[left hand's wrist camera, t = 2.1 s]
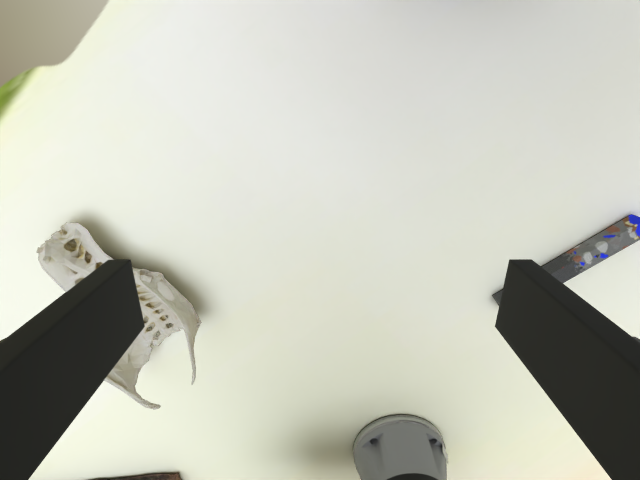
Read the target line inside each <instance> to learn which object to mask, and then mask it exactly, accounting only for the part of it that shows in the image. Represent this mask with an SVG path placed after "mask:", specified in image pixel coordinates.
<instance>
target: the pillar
mask: <svg viewBox="0 0 640 480" xmlns="http://www.w3.org/2000/svg"><path fill="white" fill-rule="evenodd" d="M638 240H640V217H638V216H635V215H632V214H631V215H629V216H628V217H626V218H624V219H622V220H621V221H619V222H617V223H616V224H614V225H612V226H610V227H609V228H607V229H605V230H604V231H602V232H600V233H599V234H597V235H595V236H593V237H592V238H590V239H588V240H587V241H585V242H583V243H581V244H580V245H578V246H576V247H575V248H573V249H571V250H569V251H568V252H566V253H564V254H563V255H561V256H559V257H557V258H556V259H554V260H552V261H551V262H549V263H547V264H545V265H544V266H542V268H543V269H544V270H546V271H547V272H548V273H550V274H551V275H552V276H554V277H555V278H556V279H557V280H559V281H560V282H561V283H564V282H566V281H568V280H569V279H571V278H573V277H575V276H576V275H578V274H580V273H582V272H583V271H585V270H587V269H589V268H591V267H592V266H594V265H596V264H598V263H599V262H601V261H603V260H605V259H606V258H608V257H610V256H612V255H614V254H615V253H617V252H619V251H621V250H622V249H624V248H626V247H628V246H630V245H631V244H633V243H635V242H637V241H638ZM502 292H503V290H501V291H499V292H497V293H496V294H494V295H492V296H493V298H494V299H495V300H496V302H497V303H498V305H499V306H500V301H501V297H502Z"/></svg>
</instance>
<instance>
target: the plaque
mask: <svg viewBox="0 0 640 480" xmlns="http://www.w3.org/2000/svg"><path fill="white" fill-rule="evenodd" d="M97 480H105V479H97ZM112 480H181V479H180V477H179V473H177V474H152V475H143V476H136V477H129V478H120V479H112Z"/></svg>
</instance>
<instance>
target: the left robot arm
mask: <svg viewBox="0 0 640 480" xmlns="http://www.w3.org/2000/svg"><path fill="white" fill-rule="evenodd" d="M144 327H145V324H144V320H143V315H142V310H141V306H140V301H139V297H138V292H137V287H136V283H135V278H134V273H133V269H132V264H131V260H107V261H106V262H105V263H103V264H102V265H101V266H99V267H98V268H97V269H96V270H94V271H93V272H92V273H90V274H89V275H88V276H86V277H85V278H84V279H83V280H81V281H80V282H79V283H77V284H76V285H75V286H73V287H72V288H71V289H70V290H68V291H67V292H66V293H64V294H63V295H62V296H60V297H59V298H58V299H57V300H55V301H54V302H53V303H51V304H50V305H49V306H47V307H46V308H45V309H44V310H42V311H41V312H40V313H38V314H37V315H36V316H34V317H33V318H32V319H31V320H29V321H28V322H27V323H25V324H24V325H23V326H22V327H20V328H19V329H18V330H16V331H15V332H14V333H12V334H11V335H10V336H9V337H7V338H5V339H3V340H1V341H0V480H28V479H29V478H30V477H31V475H32V474H33V473H34V471H35V470H36V469H37V467H38V466H39V465H40V463H41V462H42V461H43V459H44V458H45V457H46V456H47V454H48V453H49V452H50V450H51V449H52V448H53V446H54V445H55V444H56V442H57V441H58V440H59V438H60V437H61V436H62V435H63V433H64V432H65V431H66V429H67V428H68V427H69V425H70V424H71V423H72V421H73V420H74V419H75V418H76V416H77V415H78V414H79V412H80V411H81V410H82V408H83V407H84V406H85V404H86V403H87V402H88V400H89V399H90V398H91V397H92V395H93V394H94V393H95V391H96V390H97V389H98V387H99V386H100V385H101V383H102V382H103V381H104V379H105V378H106V377H107V376H108V374H109V373H110V372H111V370H112V369H113V368H114V366H115V365H116V364H117V362H118V361H119V360H120V358H121V357H122V356H123V355H124V353H125V352H126V351H127V349H128V348H129V347H130V345H131V344H132V343H133V341H134V340H135V339H136V337H137V336H138V335H139V334H140V332H141V331H142V330H143V328H144ZM495 327H496V328H497V330H498V331H499V332H500V334H501V335H502V336H503V337H504V339H505V340H506V341H507V343H508V344H509V345H510V347H511V348H512V349H513V351H514V352H515V353H516V355H517V356H518V357H519V358H520V360H521V361H522V362H523V364H524V365H525V366H526V368H527V369H528V370H529V372H530V373H531V374H532V376H533V377H534V378H535V379H536V381H537V382H538V383H539V385H540V386H541V387H542V389H543V390H544V391H545V393H546V394H547V395H548V397H549V398H550V399H551V400H552V402H553V403H554V404H555V406H556V407H557V408H558V410H559V411H560V412H561V414H562V415H563V416H564V418H565V419H566V420H567V421H568V423H569V424H570V425H571V427H572V428H573V429H574V431H575V432H576V433H577V435H578V436H579V437H580V438H581V440H582V441H583V442H584V444H585V445H586V446H587V448H588V449H589V450H590V452H591V453H592V454H593V456H594V457H595V458H596V459H597V461H598V462H599V463H600V465H601V466H602V467H603V469H604V470H605V471H606V473H607V474H608V475H609V477H610V478H611V479H612V480H640V339H638V338H636V337H631V336H630V335H629V334H628V333H626V332H625V331H624V330H622V329H621V328H620V327H618V326H617V325H616V324H615V323H613V322H612V321H611V320H609V319H608V318H607V317H606V316H604V315H603V314H602V313H600V312H599V311H598V310H596V309H595V308H594V307H593V306H591V305H590V304H589V303H587V302H586V301H585V300H583V299H582V298H581V297H580V296H578V295H577V294H576V293H574V292H573V291H572V290H570V289H569V288H568V287H567V286H565V285H564V284H563V283H561V282H560V281H559V280H557V279H556V278H555V277H554V276H552V275H551V274H550V273H548V272H547V271H546V270H544V269H543V268H542V267H541V266H539V265H538V264H537V263H535V262H534V261H533V260H509V264H508V269H507V273H506V278H505V283H504V287H503V292H502V297H501V301H500V306H499V310H498V315H497V320H496V324H495ZM353 453H354V462H355V465H356V469H357V471H358V473H359V476H360V478H361V480H447V477H446V461H447V463H448V454H447V452H446V449H445V445H444V442H443V439H442V436H441V434H440V432H439V431H438V429H437V428H436V427H435V426H434V425H433V424H431V423H430V422H428V421H426V420H424V419H422V418H419V417H416V416H411V415H393V416H387V417H384V418H381V419H378V420H376V421H374V422H372V423H370V424H369V425H367V426H366V427H365V428H364V429H363V430H362V431H361V432H360V433H359V434H358V436H357V437H356V439H355V442H354V447H353Z"/></svg>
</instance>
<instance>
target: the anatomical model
mask: <svg viewBox="0 0 640 480" xmlns="http://www.w3.org/2000/svg"><path fill="white" fill-rule="evenodd" d="M61 229H62V230H60V231H58V232H56V233H54V234H52V235H51V236H52V238H51V239H50V240H48V241H45V243H44V244H42V245H41V247H38V249H37V253H39V257H38V261H39V263H40V265H41V267H42V268H43V269H44V270H45V272H46V273H47V274H48V275H49V276H50V277H51V278H52V279H53V280H54V281H55V282H56V283H57V284H58V285H59V286H60V287H61V288H62V289H63V290H64V291H66V292H67V291H68V290H70V289H71V288H72V287H73V286H75V285H76V284H77V283H79V282H80V281H81V280H83V279H84V278H85V277H86V276H88V275H89V274H90V273H92V272H93V271H94V270H96V269H97V268H98V267H99V266H101V265H102V264H103V263H105V262H106V261H107V260H114V259H112V258H111V257H110V256H108V255H107V254H106V253H104V251H103V250H102V249H101V248H100V247H99V245H98V244H97V243H96V242H95V241H94V239H93V238H92V236H91V235H90V233H89V231H88V230H87V229H86V228H85V227H83V226H82V225H80V224H79V223H66V224H65V225H62V226H61ZM132 269H133V273H134V278H135V283H136V287H137V292H138V297H139V301H140V306H141V310H142V315H143V320H144V324H145V327H144V328H143V330H142V331H141V332H140V334H139V335H138V336H137V337H136V339H135V340H134V341H133V343H132V344H131V345H130V347H129V348H128V349H127V351H126V352H125V353H124V355H123V356H122V357H121V358H120V360H119V361H118V362H117V364H116V365H115V366H114V368H113V369H112V370H111V372H110V373H109V374H108V376H107V377H106V378H105V379H104V381H106V382H108V383H110V384H111V385H113V386H115V387H116V388H118V389H120V390H121V391H123V392H124V393H126V394H127V395H129V396H130V397H131V398H133V399H134V400H135V401H137V402H138V403H140V404H141V405H143V406H144V407H146V408H151V409H154V410H155V409H159V408H160V405H157V404H153V403H150V402H148V401H147V400H144V399H142V398H141V396H140V395H139V394H138V393H137V392H136V389H135V385H136V383H137V378H138V374H139V372H140V370H141V368H142V367H143V365H144V364H145V363H146V362H148V361H149V357H150V353H151V350H152V348H151V347H150V345H151V344H152V343H153V345H155V346H159V345H160V344H161V342H162V341H163V340H164V339H165V337H168V336H170V335H171V333H173V332H176V331H180V329H184V331H185V334H186V338H187V342H188V347H189V353H190V358H191V363H192V369H193V376H192V385H193V383H194V381H195V376H196V367H195V358H194V349H193V348H194V341H195V335H196V333H197V330H198V328H199V326H200V324H201V321H200V319H199V317H198V315H197V313H196V312H195V310H194V307H193V305H192V304H191V303H190V302H189V301H188V300H187V299H186V298H185V297H184V296H183V295H181V293H180V292H179V291H178V290H177V289H175V288H174V287H173V286H172V285H171V284H170V283H169V282H168V281H167V280H166V279H165V278H164V276H163V274H162V273H159V272H152V271H149V270H146V269H137V268H133V267H132ZM166 315H168V318H167V317H166ZM169 323H172V324H173V326H172V327H170V324H169ZM151 326H152V329H151V328H149V327H151ZM179 328H180V329H179ZM158 331H159V332H160V335H159V336H158V337H156V334H157V332H158Z"/></svg>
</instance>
